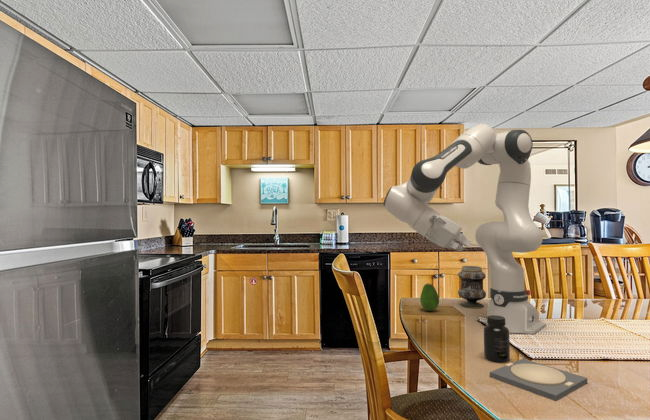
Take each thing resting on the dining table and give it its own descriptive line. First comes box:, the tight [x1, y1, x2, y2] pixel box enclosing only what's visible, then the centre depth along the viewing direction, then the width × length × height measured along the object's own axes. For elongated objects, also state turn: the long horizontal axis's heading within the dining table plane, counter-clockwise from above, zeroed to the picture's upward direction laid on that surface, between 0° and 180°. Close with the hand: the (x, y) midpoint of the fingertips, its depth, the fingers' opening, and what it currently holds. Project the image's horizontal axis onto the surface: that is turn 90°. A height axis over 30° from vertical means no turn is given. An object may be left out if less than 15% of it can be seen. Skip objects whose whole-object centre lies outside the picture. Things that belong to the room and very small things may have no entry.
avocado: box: [420, 283, 440, 312], centre depth 168 cm, size 8×8×12 cm
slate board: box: [489, 358, 588, 402], centre depth 97 cm, size 16×16×2 cm
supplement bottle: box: [483, 315, 511, 364], centre depth 111 cm, size 7×7×12 cm
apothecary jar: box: [457, 265, 487, 309], centre depth 177 cm, size 12×12×18 cm
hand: (465, 247), depth 120 cm, fingers open, 8 cm apart
